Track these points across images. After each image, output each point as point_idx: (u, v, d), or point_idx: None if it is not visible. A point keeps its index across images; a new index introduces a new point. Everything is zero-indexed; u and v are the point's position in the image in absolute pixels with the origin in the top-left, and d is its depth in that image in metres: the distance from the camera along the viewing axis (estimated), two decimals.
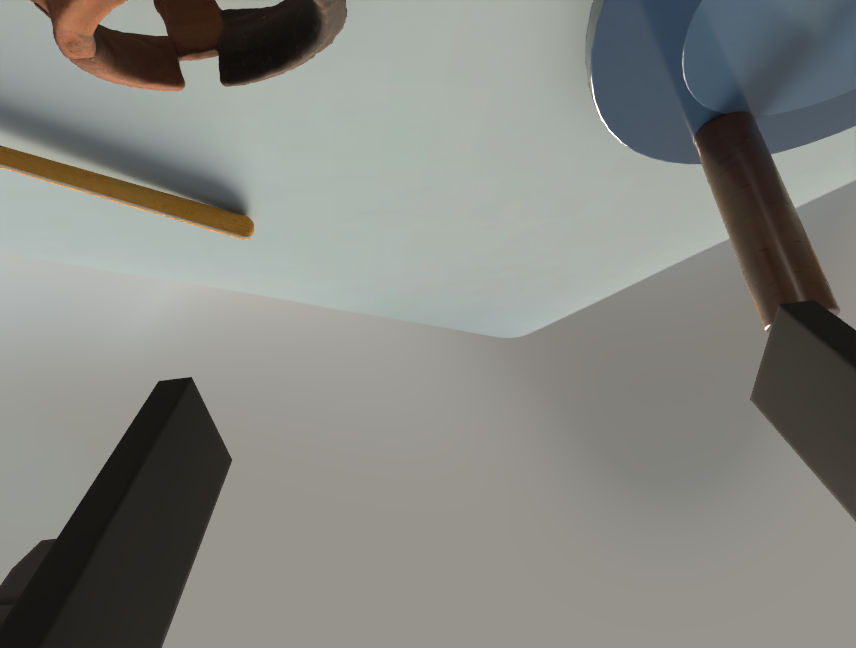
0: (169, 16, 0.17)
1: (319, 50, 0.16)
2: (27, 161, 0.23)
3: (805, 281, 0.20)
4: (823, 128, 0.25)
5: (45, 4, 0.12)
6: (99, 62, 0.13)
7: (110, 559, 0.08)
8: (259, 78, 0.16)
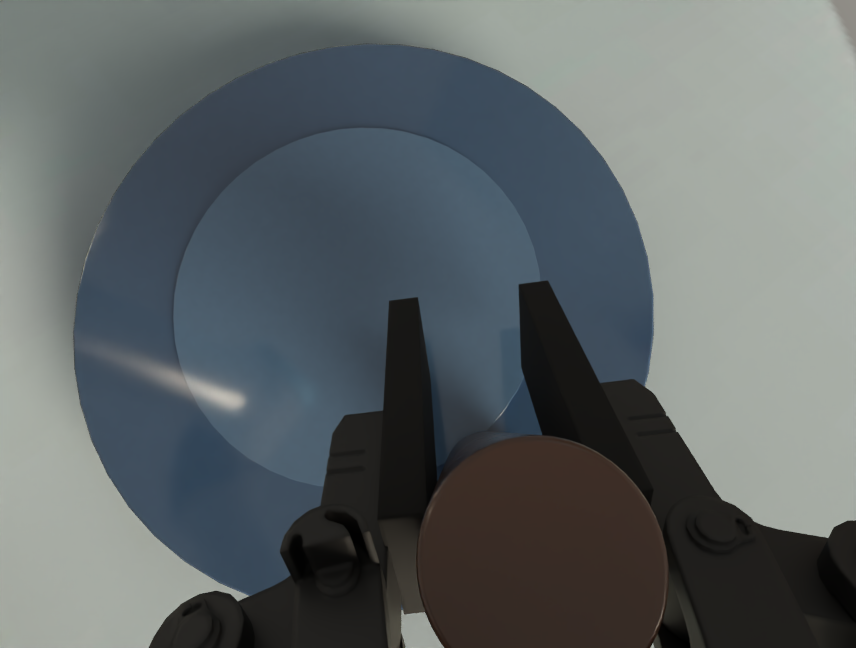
0: None
1: None
2: None
3: (437, 484, 0.07)
4: (617, 351, 0.15)
5: None
6: None
7: (425, 420, 0.10)
8: None
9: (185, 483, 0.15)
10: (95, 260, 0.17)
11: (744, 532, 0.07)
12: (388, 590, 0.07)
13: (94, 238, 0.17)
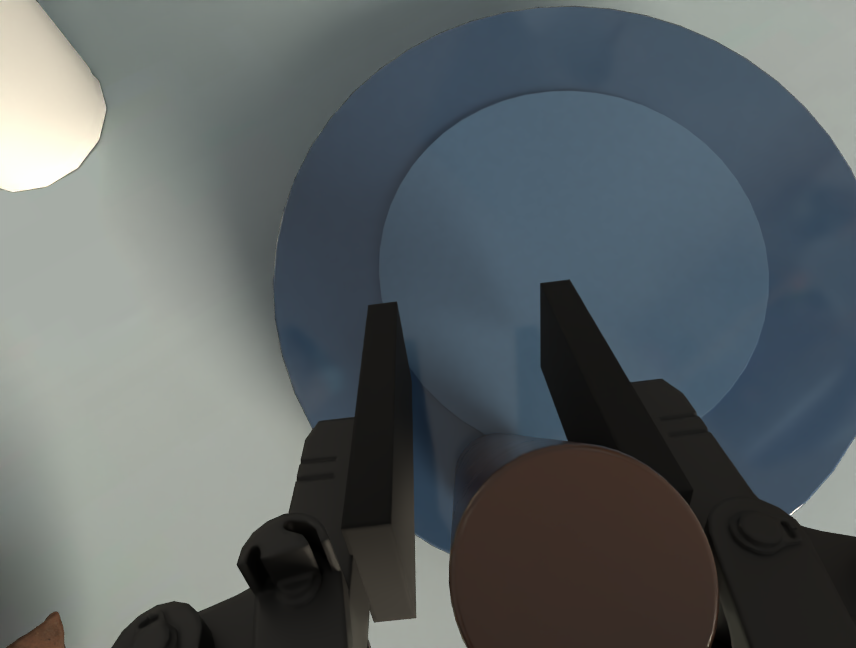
0: None
1: None
2: None
3: (546, 440, 0.06)
4: None
5: None
6: None
7: (397, 427, 0.10)
8: None
9: (327, 238, 0.16)
10: (443, 41, 0.18)
11: (790, 535, 0.07)
12: (351, 598, 0.07)
13: (460, 26, 0.18)
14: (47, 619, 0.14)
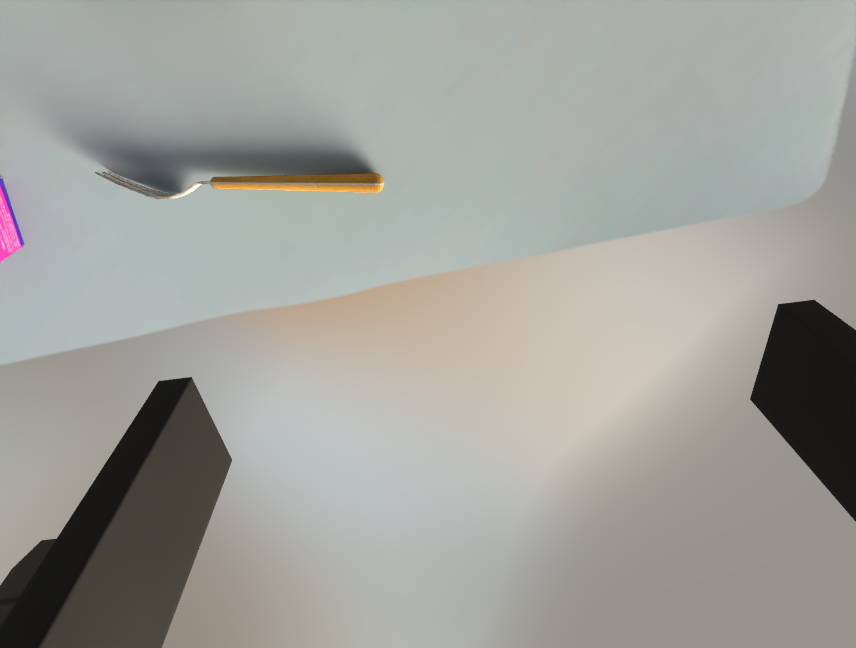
0: None
1: None
2: (232, 177, 0.36)
3: None
4: None
5: None
6: None
7: (110, 559, 0.08)
8: None
9: None
10: None
11: None
12: None
13: None
14: None
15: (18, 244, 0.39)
